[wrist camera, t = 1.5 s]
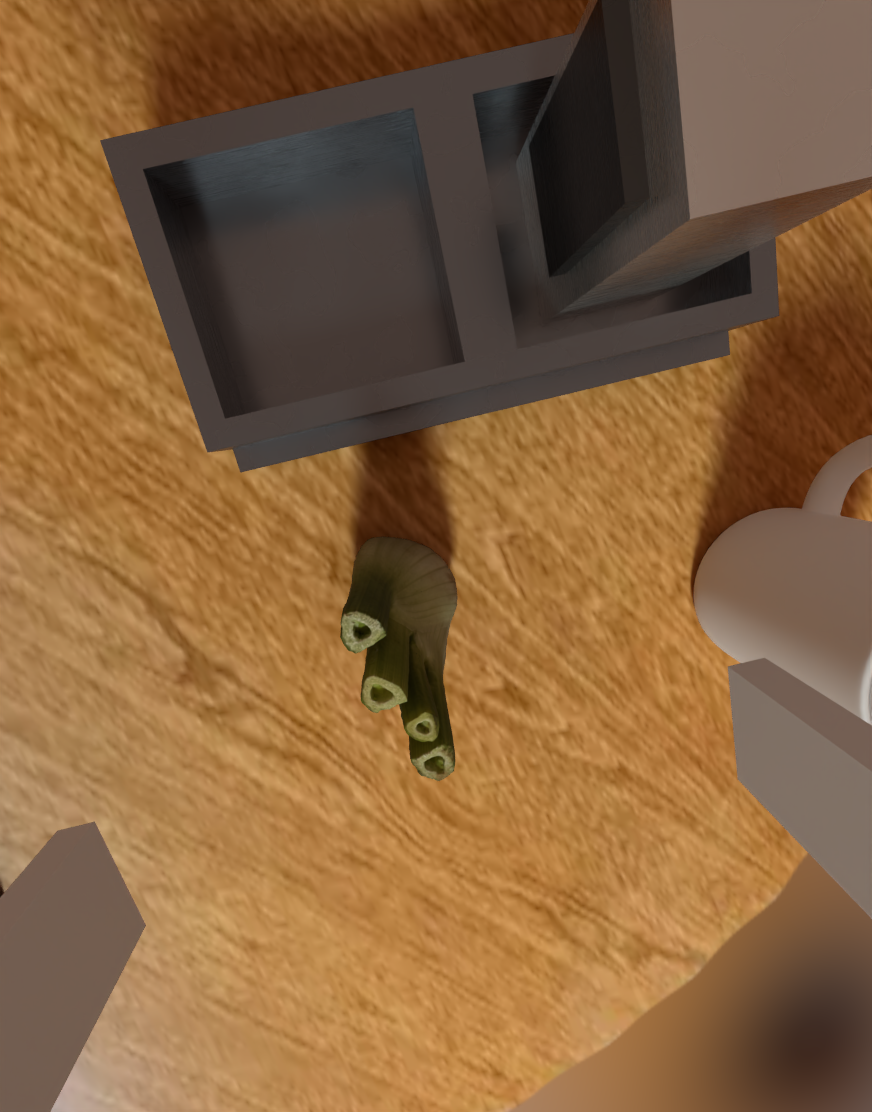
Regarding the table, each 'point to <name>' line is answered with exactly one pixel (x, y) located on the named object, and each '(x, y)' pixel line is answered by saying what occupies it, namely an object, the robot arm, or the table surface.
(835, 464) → the mug
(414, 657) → the fennel bulb
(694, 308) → the grey compartment caddy
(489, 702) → the table surface
